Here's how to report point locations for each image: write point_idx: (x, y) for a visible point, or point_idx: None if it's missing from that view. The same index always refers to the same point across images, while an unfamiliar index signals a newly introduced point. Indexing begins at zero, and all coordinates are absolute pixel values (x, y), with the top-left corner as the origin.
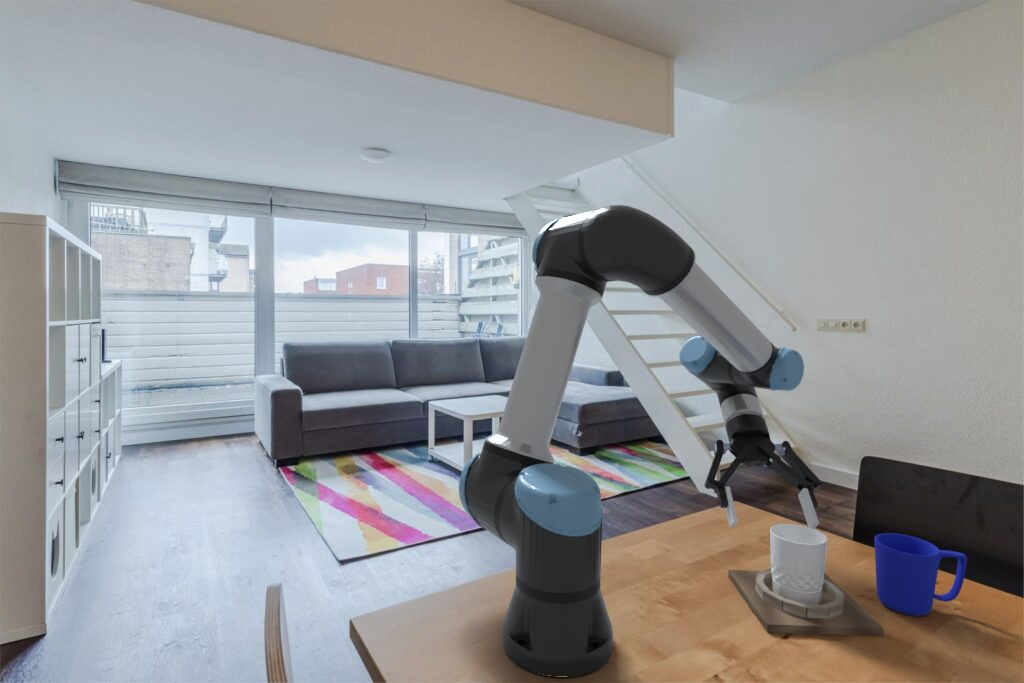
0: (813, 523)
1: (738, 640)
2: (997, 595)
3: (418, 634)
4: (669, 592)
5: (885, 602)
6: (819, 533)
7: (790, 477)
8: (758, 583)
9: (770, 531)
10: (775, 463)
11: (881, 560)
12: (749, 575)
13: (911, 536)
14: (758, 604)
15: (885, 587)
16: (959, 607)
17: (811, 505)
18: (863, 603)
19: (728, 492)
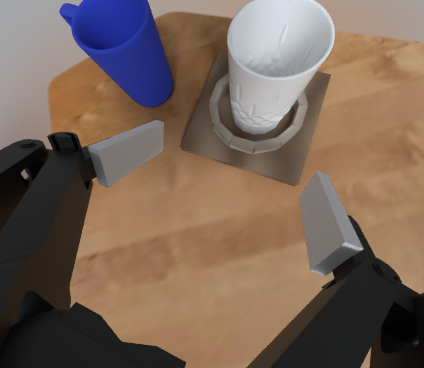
0: (162, 127)
1: (364, 76)
2: (54, 88)
3: None
4: (399, 172)
5: (172, 86)
6: (231, 34)
7: (74, 199)
8: (301, 121)
9: (327, 55)
10: (42, 266)
11: (156, 46)
12: (279, 164)
13: (74, 34)
14: (314, 106)
15: (168, 71)
16: (108, 79)
17: (132, 131)
18: (186, 102)
19: (348, 226)
